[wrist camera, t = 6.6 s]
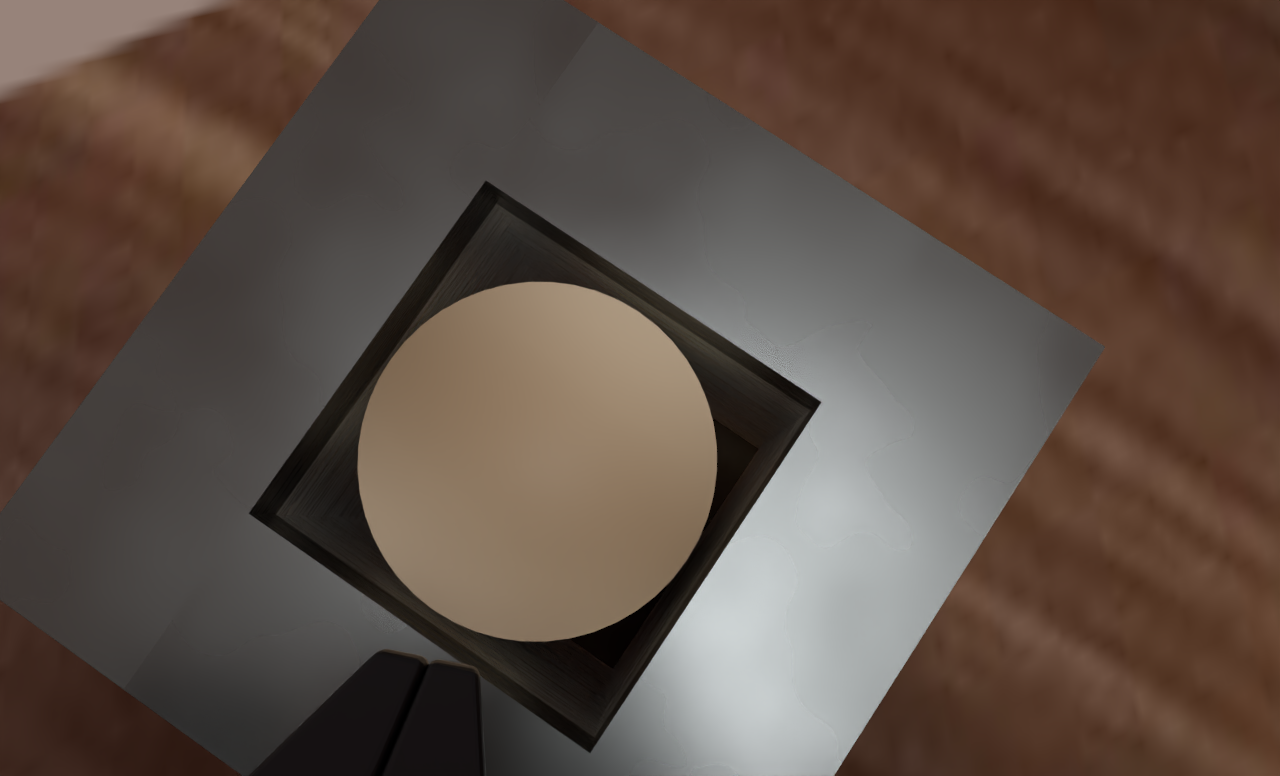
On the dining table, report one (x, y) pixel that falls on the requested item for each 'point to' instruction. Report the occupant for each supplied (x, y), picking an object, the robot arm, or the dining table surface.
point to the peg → (537, 461)
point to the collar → (562, 253)
